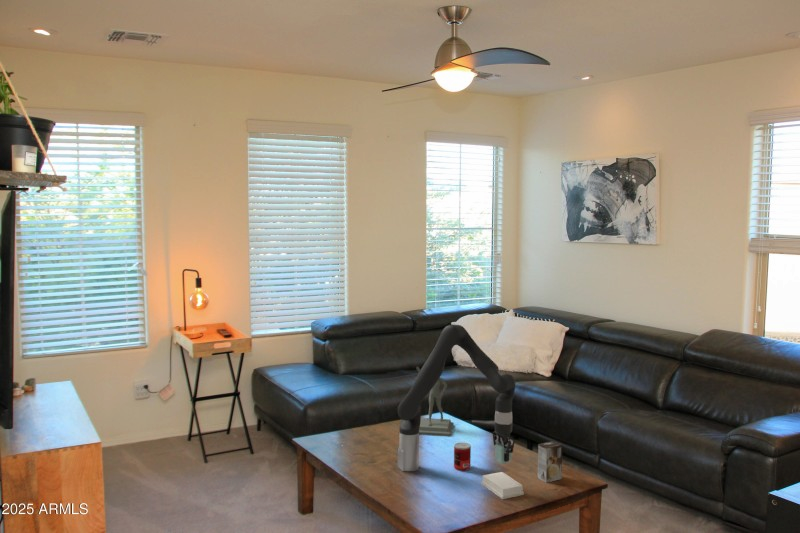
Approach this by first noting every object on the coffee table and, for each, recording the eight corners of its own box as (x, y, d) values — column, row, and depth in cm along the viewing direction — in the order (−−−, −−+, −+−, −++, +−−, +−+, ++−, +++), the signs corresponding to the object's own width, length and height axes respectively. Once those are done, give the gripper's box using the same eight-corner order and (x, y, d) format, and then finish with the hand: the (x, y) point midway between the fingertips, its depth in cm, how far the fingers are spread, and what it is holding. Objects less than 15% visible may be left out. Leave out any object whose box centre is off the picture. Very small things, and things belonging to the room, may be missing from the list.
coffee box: (552, 474, 305) (553, 440, 304) (562, 479, 299) (563, 444, 298) (536, 478, 301) (537, 443, 299) (546, 483, 295) (547, 448, 294)
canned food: (472, 466, 314) (472, 443, 313) (467, 472, 307) (467, 449, 306) (457, 463, 317) (457, 441, 316) (451, 469, 310) (451, 446, 309)
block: (501, 463, 284) (501, 448, 283) (494, 459, 289) (495, 444, 288) (510, 462, 286) (511, 446, 286) (504, 458, 291) (504, 442, 290)
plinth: (502, 499, 278) (502, 490, 278) (481, 483, 294) (481, 475, 293) (524, 494, 283) (524, 485, 283) (502, 479, 298) (502, 471, 298)
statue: (412, 434, 359) (413, 369, 355) (417, 422, 378) (418, 361, 375) (450, 436, 355) (451, 371, 352) (453, 425, 374) (454, 363, 371)
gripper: (487, 417, 291) (486, 454, 292) (505, 427, 278) (504, 466, 279) (501, 415, 294) (501, 452, 295) (520, 424, 281) (519, 463, 282)
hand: (502, 458), depth 287 cm, fingers closed on block, 5 cm apart
